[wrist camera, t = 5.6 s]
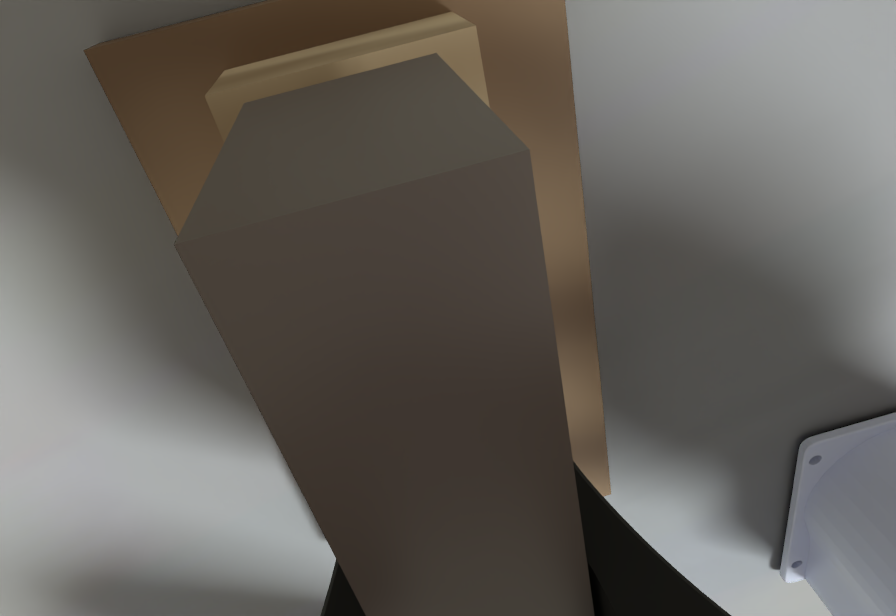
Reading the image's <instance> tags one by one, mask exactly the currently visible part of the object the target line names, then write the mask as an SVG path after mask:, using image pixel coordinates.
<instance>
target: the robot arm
mask: <svg viewBox="0 0 896 616" xmlns="http://www.w3.org/2000/svg"><path fill="white" fill-rule="evenodd" d="M573 465H574V472H575V479H576V486H577V493H578V500H579V508H580V515H581V522H582V529H583V536H584V544H585V551H586V558H587V565H588V572H589V579H590V587H591V594H592V601H593V608H594V615H595V616H731V615H730V614H728V613H727V612H726V611H725V610H723V609H722V608H721V607H720V606H718V605H717V604H716V603H715V602H714V601H712V600H711V599H710V598H709V597H707V596H706V595H705V594H704V593H703V592H701V591H700V590H699V589H698V588H697V587H696V586H694V585H693V584H692V583H691V582H690V581H689V580H687V579H686V578H685V577H684V576H683V575H682V574H681V573H679V572H678V571H677V570H676V569H675V568H674V567H673V566H672V565H671V564H670V563H669V562H667V561H666V560H665V559H664V558H663V557H662V556H661V555H660V554H659V553H658V552H657V551H656V550H654V549H653V548H652V547H651V546H650V545H649V544H648V543H647V542H646V541H645V540H644V539H643V538H642V537H641V536H640V535H639V534H638V533H637V532H636V531H635V530H634V529H633V528H632V527H631V526H630V525H629V524H628V523H627V522H626V521H625V520H624V519H623V518H622V516H621V515H620V514H619V513H618V512H617V511H616V510H615V509H614V508H613V507H612V506H611V505H610V504H609V503H608V502H607V500H606V499H605V498H604V497H603V496H602V495H601V494H600V493H599V491H598V490H597V489H596V488H595V487H594V486H593V485H592V483H591V482H590V481H589V480H588V479H587V477H586V476H585V475H584V474H583V472H582V471H581V470H580V469H579V467H578V466H577V465H576V463H575V462H574V461H573ZM780 576H781V577H782V579H783V580H784V581H785V582H787V583H793V582H797V581H800V580H803V579H806V580H807V582H808V583H809V584H810V586H811V587H812V588H813V590H814V591H815V592H816V594H817V595H818V596H819V598H820V599H821V600H822V602H823V603H824V604H825V606H826V607H827V608H828V610H829V611H830V612H831V614H832V615H833V616H896V412H895V413H891V414H888V415H884V416H881V417H877V418H874V419H870V420H867V421H863V422H860V423H856V424H853V425H849V426H846V427H842V428H839V429H835V430H832V431H828V432H825V433H822V434H818V435H815V436H811V437H809V438H807V439H805V440H804V441H803V442H802V443H801V445H800V447H799V452H798V458H797V465H796V471H795V478H794V484H793V491H792V497H791V504H790V510H789V517H788V523H787V530H786V536H785V543H784V549H783V556H782V562H781V569H780ZM321 616H366V615H365V613H364V611H363V609H362V607H361V605H360V603H359V601H358V600H357V598H356V596H355V594H354V592H353V590H352V588H351V586H350V584H349V582H348V580H347V578H346V576H345V574H344V572H343V570H342V569H341V567H340V565H339V563H338V561H337V559H336V562H335V566H334V570H333V574H332V578H331V582H330V585H329V589H328V592H327V596H326V599H325V603H324V606H323V609H322V613H321Z"/></svg>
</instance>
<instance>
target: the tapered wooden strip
mask: <svg viewBox="0 0 896 616" xmlns="http://www.w3.org/2000/svg"><path fill="white" fill-rule="evenodd" d="M174 246H175V248H176V249H177V251H178V253H179V255H180V257H181V259H182V261H183V263H184V265H185V267H186V269H187V271H188V273H189V275H190V277H191V278H192V280H193V282H194V284H195V286H196V288H197V290H198V292H199V294H200V296H201V298H202V300H203V302H204V304H205V306H206V307H207V309H208V311H209V313H210V315H211V317H212V319H213V321H214V323H215V325H216V327H217V329H218V331H219V333H220V335H221V337H222V338H223V340H224V342H225V344H226V346H227V348H228V350H229V352H230V354H231V356H232V358H233V360H234V362H235V364H236V366H237V367H238V369H239V371H240V373H241V375H242V377H243V379H244V381H245V383H246V385H247V387H248V389H249V391H250V393H251V395H252V396H253V398H254V400H255V402H256V404H257V406H258V408H259V410H260V412H261V414H262V416H263V418H264V420H265V422H266V424H267V425H268V427H269V429H270V431H271V433H272V435H273V437H274V439H275V441H276V443H277V445H278V447H279V449H280V451H281V453H282V454H283V456H284V458H285V460H286V462H287V464H288V466H289V468H290V470H291V472H292V474H293V476H294V478H295V480H296V482H297V483H298V485H299V487H300V489H301V491H302V493H303V495H304V497H305V499H306V501H307V503H308V505H309V507H310V509H311V511H312V512H313V514H314V516H315V518H316V520H317V522H318V524H319V526H320V528H321V530H322V532H323V534H324V536H325V538H326V540H327V541H328V543H329V545H330V547H331V549H332V551H333V553H334V555H335V557H336V559H337V561H338V563H339V565H340V567H341V569H342V570H343V572H344V574H345V576H346V578H347V580H348V582H349V584H350V586H351V588H352V590H353V592H354V594H355V596H356V598H357V600H358V601H359V603H360V605H361V607H362V609H363V611H364V613H365V615H366V616H595V615H594V608H593V601H592V594H591V587H590V579H589V572H588V565H587V558H586V551H585V544H584V536H583V529H582V522H581V515H580V508H579V500H578V493H577V486H576V479H575V472H574V465H573V457H572V450H571V443H570V436H569V429H568V421H567V414H566V407H565V400H564V393H563V386H562V378H561V371H560V364H559V357H558V350H557V342H556V335H555V328H554V321H553V314H552V307H551V299H550V292H549V285H548V278H547V271H546V263H545V256H544V249H543V242H542V235H541V228H540V220H539V213H538V206H537V199H536V192H535V185H534V177H533V170H532V163H531V156H530V149H529V148H528V147H527V146H526V145H525V144H524V143H523V142H522V141H521V140H520V139H519V138H518V137H517V136H516V135H515V134H514V133H513V132H512V131H511V130H510V129H509V128H508V126H507V125H506V124H505V123H504V122H503V121H502V120H501V119H500V118H499V117H498V116H497V115H496V114H495V113H494V112H493V111H492V110H491V109H490V108H489V107H488V106H487V105H486V104H485V103H484V102H483V101H482V100H481V99H480V98H479V96H478V95H477V94H476V93H475V92H474V91H473V90H472V89H471V88H470V87H469V86H468V85H467V84H466V83H465V82H464V81H463V80H462V79H461V78H460V77H459V76H458V75H457V74H456V73H455V72H454V71H453V70H452V69H451V68H450V66H449V65H448V64H447V63H446V62H445V61H444V60H443V59H442V58H441V57H440V56H439V55H438V54H437V53H434V54H430V55H426V56H422V57H418V58H415V59H411V60H407V61H403V62H399V63H395V64H392V65H388V66H384V67H380V68H376V69H372V70H369V71H365V72H361V73H357V74H353V75H349V76H346V77H342V78H338V79H334V80H330V81H326V82H323V83H319V84H315V85H311V86H307V87H303V88H300V89H296V90H292V91H288V92H284V93H280V94H277V95H273V96H269V97H265V98H261V99H257V100H254V101H250V102H246V103H244V104H243V106H242V108H241V110H240V112H239V114H238V116H237V118H236V120H235V122H234V124H233V126H232V128H231V130H230V132H229V134H228V136H227V138H226V140H225V142H224V144H223V146H222V148H221V151H220V153H219V155H218V157H217V159H216V161H215V163H214V165H213V167H212V169H211V171H210V173H209V175H208V177H207V179H206V181H205V183H204V185H203V187H202V189H201V191H200V193H199V195H198V197H197V199H196V201H195V203H194V205H193V207H192V209H191V211H190V213H189V215H188V217H187V219H186V221H185V223H184V225H183V227H182V229H181V231H180V233H179V235H178V237H177V239H176V241H175V244H174Z"/></svg>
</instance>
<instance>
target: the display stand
mask: <svg viewBox="0 0 896 616" xmlns="http://www.w3.org/2000/svg"><path fill="white" fill-rule="evenodd" d="M84 52H85V54H86V56H87V58H88V60H89V62H90V64H91V66H92V68H93V70H94V72H95V74H96V76H97V78H98V80H99V82H100V84H101V86H102V88H103V90H104V92H105V94H106V96H107V98H108V100H109V101H110V103H111V105H112V107H113V109H114V111H115V113H116V115H117V117H118V119H119V121H120V123H121V125H122V127H123V129H124V131H125V133H126V135H127V137H128V139H129V141H130V143H131V145H132V147H133V149H134V151H135V153H136V155H137V157H138V159H139V161H140V162H141V164H142V166H143V168H144V170H145V172H146V174H147V176H148V178H149V180H150V182H151V184H152V186H153V188H154V190H155V192H156V194H157V196H158V198H159V200H160V202H161V204H162V206H163V208H164V210H165V212H166V214H167V216H168V218H169V220H170V222H171V224H172V225H173V227H174V229H175V231H176V233H177V235H179V233H180V231H181V229H182V227H183V225H184V223H185V221H186V219H187V217H188V215H189V213H190V211H191V209H192V207H193V205H194V203H195V201H196V199H197V197H198V195H199V193H200V191H201V189H202V187H203V185H204V183H205V181H206V179H207V177H208V175H209V173H210V171H211V169H212V167H213V165H214V163H215V161H216V159H217V157H218V155H219V153H220V151H221V148H222V146H223V144H224V142H225V140H226V138H227V136H228V134H229V132H230V130H231V128H232V126H233V124H234V122H235V120H236V118H237V116H238V114H239V112H240V110H241V108H242V106H243V104H244V103H246V102H250V101H254V100H257V99H261V98H265V97H269V96H273V95H277V94H280V93H284V92H288V91H292V90H296V89H300V88H303V87H307V86H311V85H315V84H319V83H323V82H326V81H330V80H334V79H338V78H342V77H346V76H349V75H353V74H357V73H361V72H365V71H369V70H372V69H376V68H380V67H384V66H388V65H392V64H395V63H399V62H403V61H407V60H411V59H415V58H418V57H422V56H426V55H430V54H434V53H437V54H438V55H439V56H440V57H441V58H442V59H443V60H444V61H445V62H446V63H447V64H448V65H449V66H450V68H451V69H452V70H453V71H454V72H455V73H456V74H457V75H458V76H459V77H460V78H461V79H462V80H463V81H464V82H465V83H466V84H467V85H468V86H469V87H470V88H471V89H472V90H473V91H474V92H475V93H476V94H477V95H478V96H479V98H480V99H481V100H482V101H483V102H484V103H485V104H486V105H487V106H488V107H489V108H490V109H491V110H492V111H493V112H494V113H495V114H496V115H497V116H498V117H499V118H500V119H501V120H502V121H503V122H504V123H505V124H506V125H507V126H508V128H509V129H510V130H511V131H512V132H513V133H514V134H515V135H516V136H517V137H518V138H519V139H520V140H521V141H522V142H523V143H524V144H525V145H526V146H527V147H528V148H529V149H530V156H531V163H532V170H533V177H534V185H535V192H536V199H537V206H538V213H539V220H540V228H541V235H542V242H543V249H544V256H545V263H546V271H547V278H548V285H549V292H550V299H551V307H552V314H553V321H554V328H555V335H556V342H557V350H558V357H559V364H560V371H561V378H562V386H563V393H564V400H565V407H566V414H567V421H568V429H569V436H570V443H571V450H572V457H573V461H574V462H575V463H576V465H577V466H578V467H579V469H580V470H581V471H582V472H583V474H584V475H585V476H586V477H587V479H588V480H589V481H590V482H591V483H592V485H593V486H594V487H595V488H596V489H597V490H598V491H599V493H600V494H601V495H602V496H607V495H610V494H611V488H610V477H609V466H608V456H607V445H606V434H605V424H604V413H603V402H602V392H601V381H600V370H599V360H598V349H597V338H596V328H595V317H594V306H593V296H592V285H591V274H590V264H589V253H588V242H587V232H586V221H585V210H584V200H583V189H582V178H581V168H580V157H579V146H578V136H577V125H576V114H575V104H574V93H573V82H572V72H571V61H570V50H569V40H568V29H567V18H566V8H565V0H267V1H263V2H259V3H255V4H251V5H247V6H244V7H240V8H236V9H232V10H228V11H224V12H220V13H216V14H212V15H208V16H204V17H200V18H197V19H193V20H189V21H185V22H181V23H177V24H173V25H169V26H165V27H161V28H157V29H153V30H150V31H146V32H142V33H138V34H134V35H130V36H126V37H122V38H118V39H114V40H110V41H106V42H103V43H99V44H97V45H95V46H92V47H90V48H88V49H86V50H84Z"/></svg>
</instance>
